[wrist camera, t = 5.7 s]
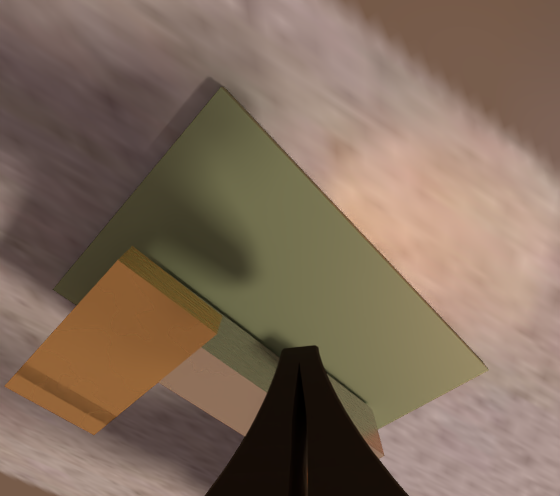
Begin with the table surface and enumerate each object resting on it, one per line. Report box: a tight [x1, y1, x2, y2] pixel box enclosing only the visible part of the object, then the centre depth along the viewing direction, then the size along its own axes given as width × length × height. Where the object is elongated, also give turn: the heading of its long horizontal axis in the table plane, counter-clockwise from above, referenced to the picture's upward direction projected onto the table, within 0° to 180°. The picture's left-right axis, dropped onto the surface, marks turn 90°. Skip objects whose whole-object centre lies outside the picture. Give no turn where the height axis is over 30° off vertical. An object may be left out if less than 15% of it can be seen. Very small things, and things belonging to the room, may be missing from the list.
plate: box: [53, 87, 488, 429], centre depth 17 cm, size 13×19×1 cm, turn 45°
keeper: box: [5, 246, 222, 435], centre depth 14 cm, size 8×4×4 cm, turn 134°
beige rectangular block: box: [158, 271, 384, 459], centre depth 16 cm, size 14×5×3 cm, turn 46°
